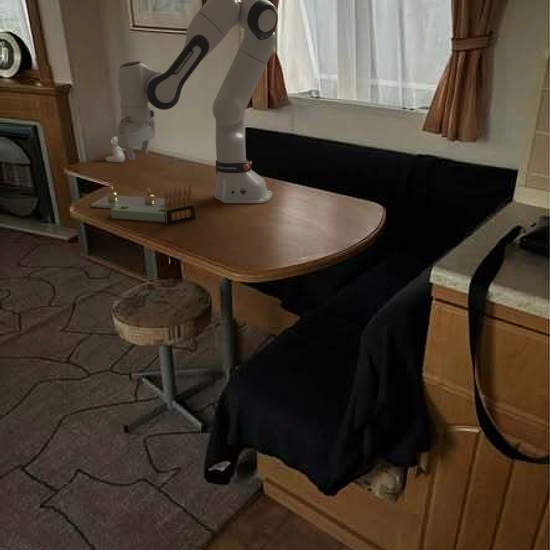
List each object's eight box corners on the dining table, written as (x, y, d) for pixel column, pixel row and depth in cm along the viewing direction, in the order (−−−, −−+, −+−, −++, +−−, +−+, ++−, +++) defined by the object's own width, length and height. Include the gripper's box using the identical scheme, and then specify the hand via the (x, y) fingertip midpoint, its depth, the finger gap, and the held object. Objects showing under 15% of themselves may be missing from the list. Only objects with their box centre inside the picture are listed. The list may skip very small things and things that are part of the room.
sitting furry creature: (123, 158, 269) (120, 133, 264) (131, 161, 263) (128, 136, 258) (105, 161, 264) (102, 136, 259) (113, 164, 258) (109, 138, 253)
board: (177, 216, 190) (176, 208, 188) (170, 222, 184) (169, 214, 183) (120, 212, 194) (118, 204, 193) (111, 217, 189) (110, 209, 188)
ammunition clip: (167, 225, 182) (164, 190, 177) (165, 223, 183) (161, 189, 178) (195, 218, 188) (193, 185, 182) (193, 217, 189) (190, 184, 184)
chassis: (170, 202, 205) (168, 184, 202) (157, 212, 194) (154, 193, 191) (108, 197, 210) (105, 180, 207) (91, 207, 200) (88, 189, 197)
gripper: (128, 120, 168) (132, 164, 174) (156, 110, 186) (159, 150, 192) (110, 118, 170) (114, 162, 176) (140, 109, 188) (143, 149, 194)
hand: (138, 156), depth 184 cm, fingers open, 8 cm apart
